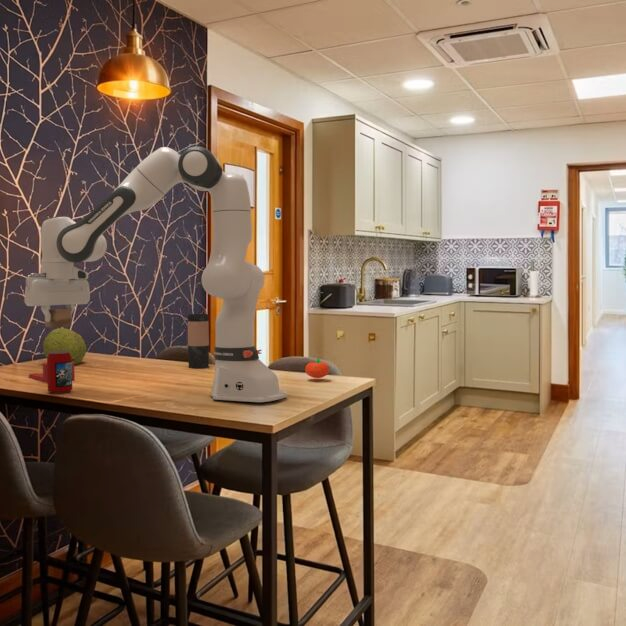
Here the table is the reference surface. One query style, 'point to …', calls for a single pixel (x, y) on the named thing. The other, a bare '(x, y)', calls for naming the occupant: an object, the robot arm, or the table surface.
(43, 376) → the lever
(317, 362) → the red tomato
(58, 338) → the fruit
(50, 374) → the beverage can
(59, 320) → the walnut cube
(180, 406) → the table surface
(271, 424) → the table surface
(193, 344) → the travel mug
